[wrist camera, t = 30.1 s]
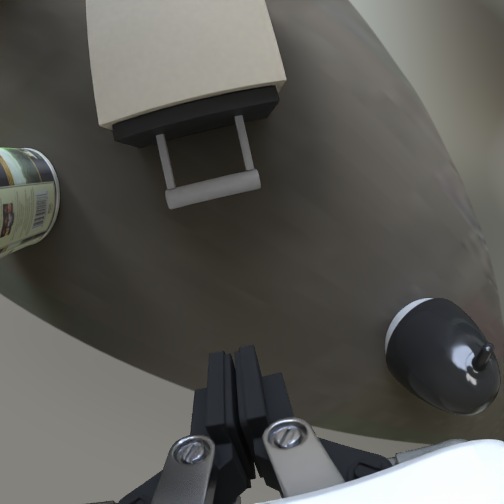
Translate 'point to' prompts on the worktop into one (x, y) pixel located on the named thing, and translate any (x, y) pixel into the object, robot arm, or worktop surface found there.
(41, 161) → the coffee can
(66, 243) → the worktop surface
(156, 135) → the dark grey storage bin
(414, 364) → the dark grey rounded dome
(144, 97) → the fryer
